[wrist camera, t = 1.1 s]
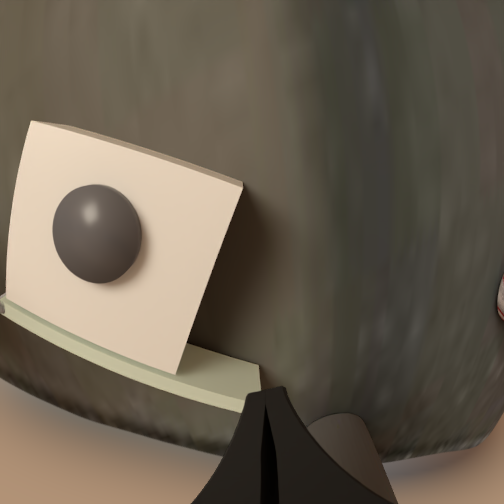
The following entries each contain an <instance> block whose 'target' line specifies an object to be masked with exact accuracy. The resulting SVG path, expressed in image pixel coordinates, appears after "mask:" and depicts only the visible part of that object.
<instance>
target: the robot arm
mask: <svg viewBox="0 0 504 504" xmlns="http://www.w3.org/2000/svg"><path fill="white" fill-rule="evenodd" d="M191 504H394V503H392V502H390V501H388V500H386V499H385V498H383V497H381V496H380V495H378V494H376V493H375V492H373V491H372V490H370V489H369V488H368V487H366V486H365V485H363V484H362V483H361V482H359V481H358V480H357V479H355V478H354V477H353V476H352V475H351V474H349V473H348V472H347V471H346V470H344V469H343V468H342V467H341V466H340V465H339V464H338V463H337V462H336V461H335V460H334V459H333V458H332V457H331V456H330V455H329V454H328V453H327V452H326V451H325V450H324V449H323V448H322V447H321V446H320V445H319V443H318V442H317V441H316V440H315V438H314V437H313V436H312V435H311V433H310V432H309V431H308V429H307V428H306V427H305V425H304V424H303V422H302V421H301V419H300V418H299V416H298V415H297V413H296V411H295V410H294V408H293V406H292V404H291V402H290V400H289V397H288V395H287V391H286V388H285V387H283V386H280V387H276V388H271V389H266V390H262V391H257V392H252V393H248V394H247V396H246V399H245V403H244V407H243V410H242V413H241V416H240V419H239V422H238V425H237V427H236V430H235V432H234V435H233V437H232V440H231V442H230V444H229V446H228V448H227V450H226V452H225V454H224V456H223V458H222V460H221V462H220V464H219V465H218V467H217V469H216V470H215V472H214V474H213V475H212V477H211V478H210V480H209V481H208V483H207V484H206V485H205V487H204V488H203V489H202V491H201V492H200V493H199V495H198V496H197V497H196V499H195V500H194V501H193V502H192V503H191Z"/></svg>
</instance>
